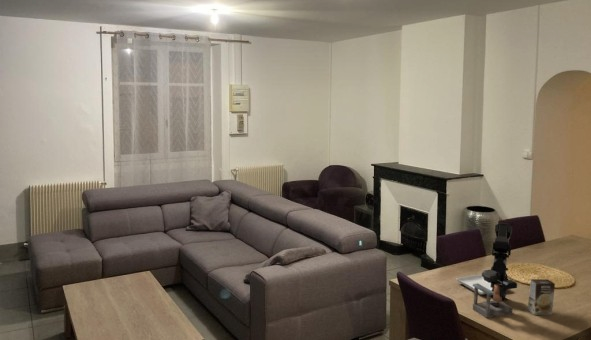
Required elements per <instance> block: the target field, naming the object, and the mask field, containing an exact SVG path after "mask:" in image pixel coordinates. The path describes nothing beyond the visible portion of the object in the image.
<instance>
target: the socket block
mask: <svg viewBox="0 0 591 340" xmlns="http://www.w3.org/2000/svg"><path fill="white" fill-rule="evenodd" d="M473 286H474V287H475V289H474V291H473V303H472V310H473V311H475V312H476V313H478V314H479V315H481V316H482V317H484V318H485V319H488V318H494V317H499V316H507V315H512V314H513V312H514V311H513V309H514V308H513V307H512V306H511V305H509V304H507V303H505V302H503V301H502V302H496V301H494V300H491V297H490V296H491V295H494V292H493V291H491V290H489V289H487V288H485V287H484V286H482V285H480V284H478V283H477V284H473ZM478 289H479V290H481V291H482V292H484V293H486V294H485V295H486V299H485V300H486V301H483V302H478V297H479V295H478V294H479V293H478Z"/></svg>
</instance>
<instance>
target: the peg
mask: <svg viewBox="0 0 591 340" xmlns="http://www.w3.org/2000/svg"><path fill="white" fill-rule="evenodd" d="M498 285H501V284H494V295H493V298H492V301H496V302H503V301H502V297H500V287H499V286H498Z"/></svg>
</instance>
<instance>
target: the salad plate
mask: <svg viewBox="0 0 591 340" xmlns="http://www.w3.org/2000/svg"><path fill="white" fill-rule="evenodd" d="M455 280H456V281H457V282H459V283H460V284H461V285H462V286H465V287H466V288H468V289H469V290H471V291H473V292H474V289H475V287H474V286H473V284H477V283H478V284H480V285H482V286H484V287H485V288H487V289H489V290H491V291H492V288H491V283H488V282H487V281H485V280H484V278H483V276H482V273H481V274H473V275H468V276H461V277H456V278H455ZM478 294H479V295H487V294H486V293H484V292H482V291H481V290H479V289H478Z"/></svg>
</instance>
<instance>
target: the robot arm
mask: <svg viewBox="0 0 591 340" xmlns="http://www.w3.org/2000/svg"><path fill="white" fill-rule="evenodd" d="M494 233H495V238H494V241H493V242H492V252H491V256H492V257H494V258H493V263H492V265H491V267H490V269H486V270H483V271H482V272H481V274H482V276H483V278H484V280H485V281H487V282H488V283H491V288H492V291H493V292H494V284H501V285H498V286H499V287H500V297H502V302H503V301H508V300H509V298H507V295H506V294H507V291H508V290H512V289H517V288H518V283H517V282H516V281H514V280H512V279H509V278H508V273H507V271H509V268H508V267H507V263H508V262H507V261H508V259H510V256H511V254H512V253H511V251H512V246H511V243H510V242H509V241H510V238H511V236H512V234H513V226H511V225H510V224H509V223H505V222H498V224H495V225H494ZM490 299H493V295H490Z"/></svg>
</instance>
